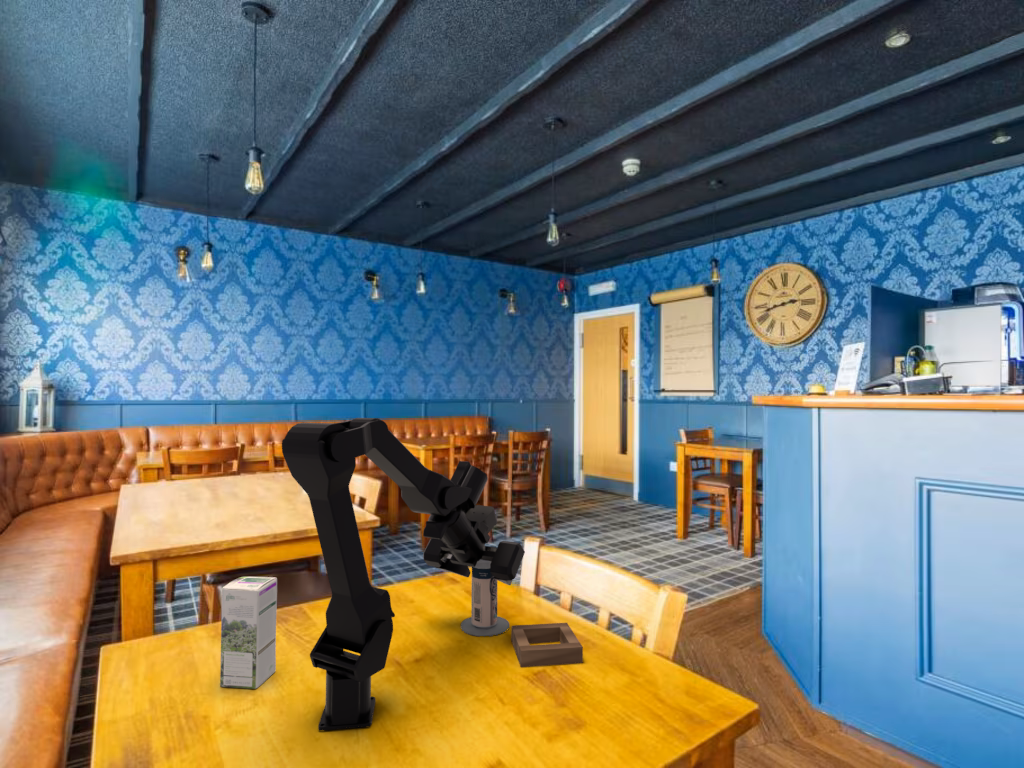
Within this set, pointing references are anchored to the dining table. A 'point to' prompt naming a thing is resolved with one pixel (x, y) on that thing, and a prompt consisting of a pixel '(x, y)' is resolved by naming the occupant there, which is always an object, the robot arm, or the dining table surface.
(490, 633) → the coaster
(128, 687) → the dining table surface
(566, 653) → the socket block
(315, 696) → the dining table surface
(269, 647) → the syrup box
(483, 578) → the beer can
